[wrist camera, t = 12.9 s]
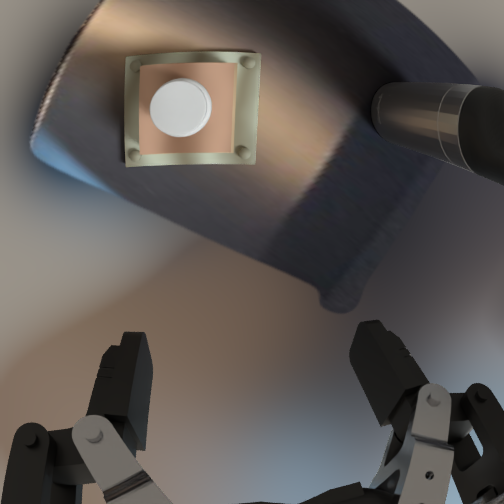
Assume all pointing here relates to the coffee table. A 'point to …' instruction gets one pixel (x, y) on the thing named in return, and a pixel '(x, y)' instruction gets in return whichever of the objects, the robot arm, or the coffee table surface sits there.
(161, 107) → the supplement bottle
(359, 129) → the coffee table surface
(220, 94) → the stepped pedestal block
